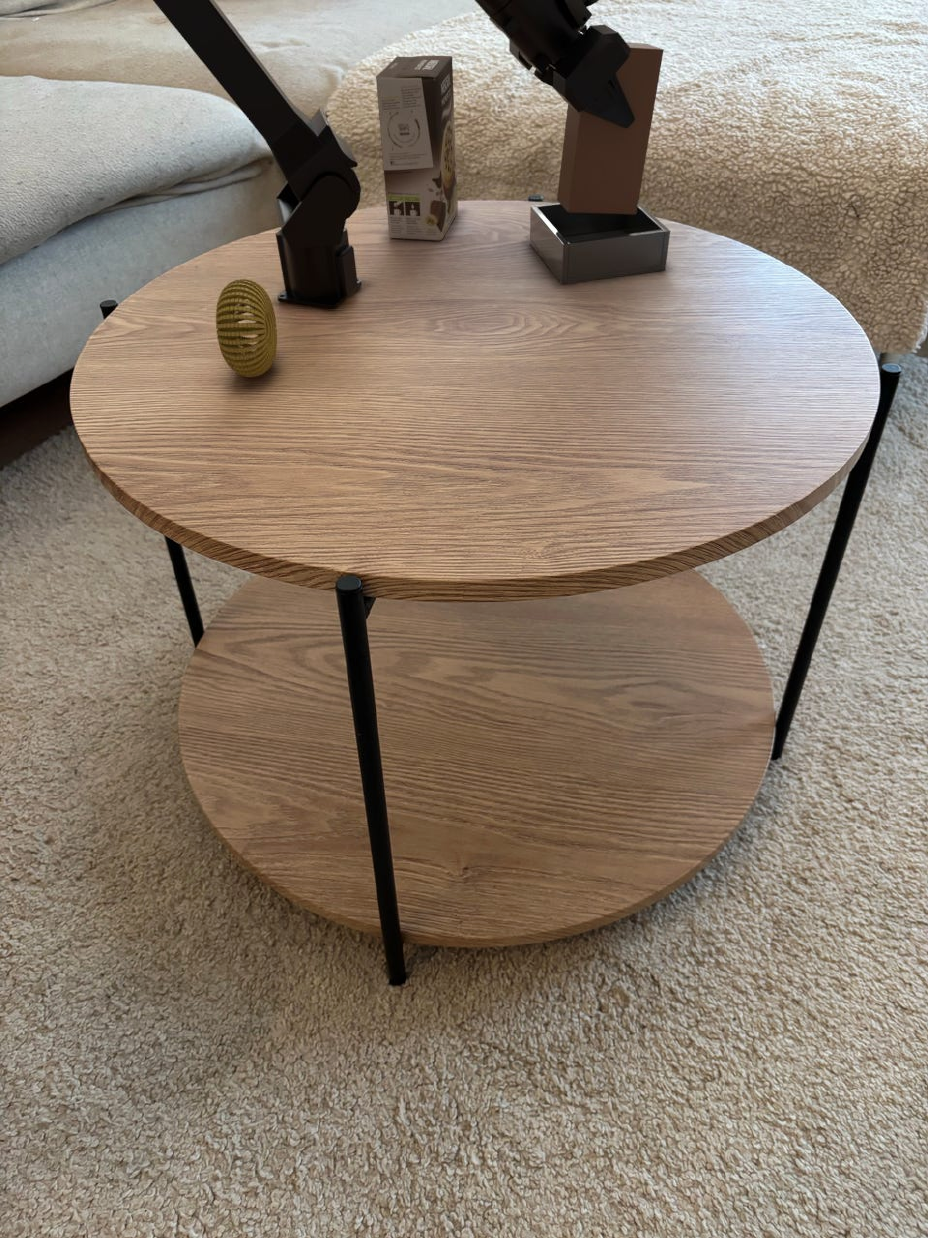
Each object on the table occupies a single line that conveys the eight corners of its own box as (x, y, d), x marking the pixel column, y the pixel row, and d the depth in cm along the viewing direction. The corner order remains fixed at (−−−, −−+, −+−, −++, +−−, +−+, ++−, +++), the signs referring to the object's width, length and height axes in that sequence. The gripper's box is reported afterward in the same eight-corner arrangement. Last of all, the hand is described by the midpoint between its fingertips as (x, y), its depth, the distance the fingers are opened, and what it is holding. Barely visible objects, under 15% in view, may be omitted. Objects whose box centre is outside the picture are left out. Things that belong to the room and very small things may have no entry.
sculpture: (243, 350, 83) (224, 263, 78) (286, 349, 83) (270, 262, 77) (224, 394, 77) (202, 304, 72) (270, 393, 77) (252, 303, 72)
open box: (561, 284, 91) (563, 244, 88) (529, 243, 99) (530, 205, 96) (665, 270, 93) (670, 230, 90) (625, 230, 101) (629, 193, 98)
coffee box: (443, 241, 100) (435, 76, 89) (387, 239, 101) (372, 75, 90) (460, 211, 106) (454, 53, 95) (407, 209, 108) (395, 52, 96)
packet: (568, 212, 89) (589, 44, 80) (556, 200, 93) (575, 38, 84) (636, 214, 90) (663, 49, 81) (622, 202, 94) (647, 43, 85)
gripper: (617, -91, 68) (728, 64, 77) (544, -115, 81) (646, 20, 90) (515, 40, 72) (632, 173, 81) (461, -3, 85) (567, 116, 94)
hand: (620, 115), depth 87 cm, fingers closed on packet, 5 cm apart
